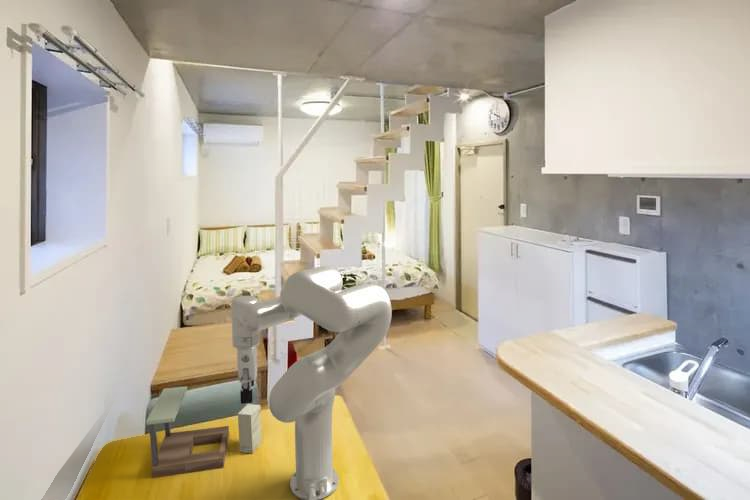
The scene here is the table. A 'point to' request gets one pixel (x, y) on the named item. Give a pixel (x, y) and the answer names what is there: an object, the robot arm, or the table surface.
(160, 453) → the socket board
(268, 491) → the table surface
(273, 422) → the table surface
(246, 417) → the skincare box
